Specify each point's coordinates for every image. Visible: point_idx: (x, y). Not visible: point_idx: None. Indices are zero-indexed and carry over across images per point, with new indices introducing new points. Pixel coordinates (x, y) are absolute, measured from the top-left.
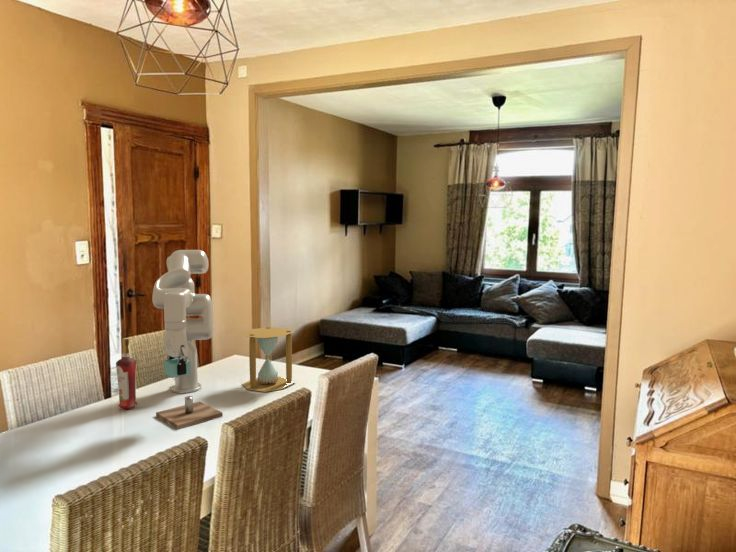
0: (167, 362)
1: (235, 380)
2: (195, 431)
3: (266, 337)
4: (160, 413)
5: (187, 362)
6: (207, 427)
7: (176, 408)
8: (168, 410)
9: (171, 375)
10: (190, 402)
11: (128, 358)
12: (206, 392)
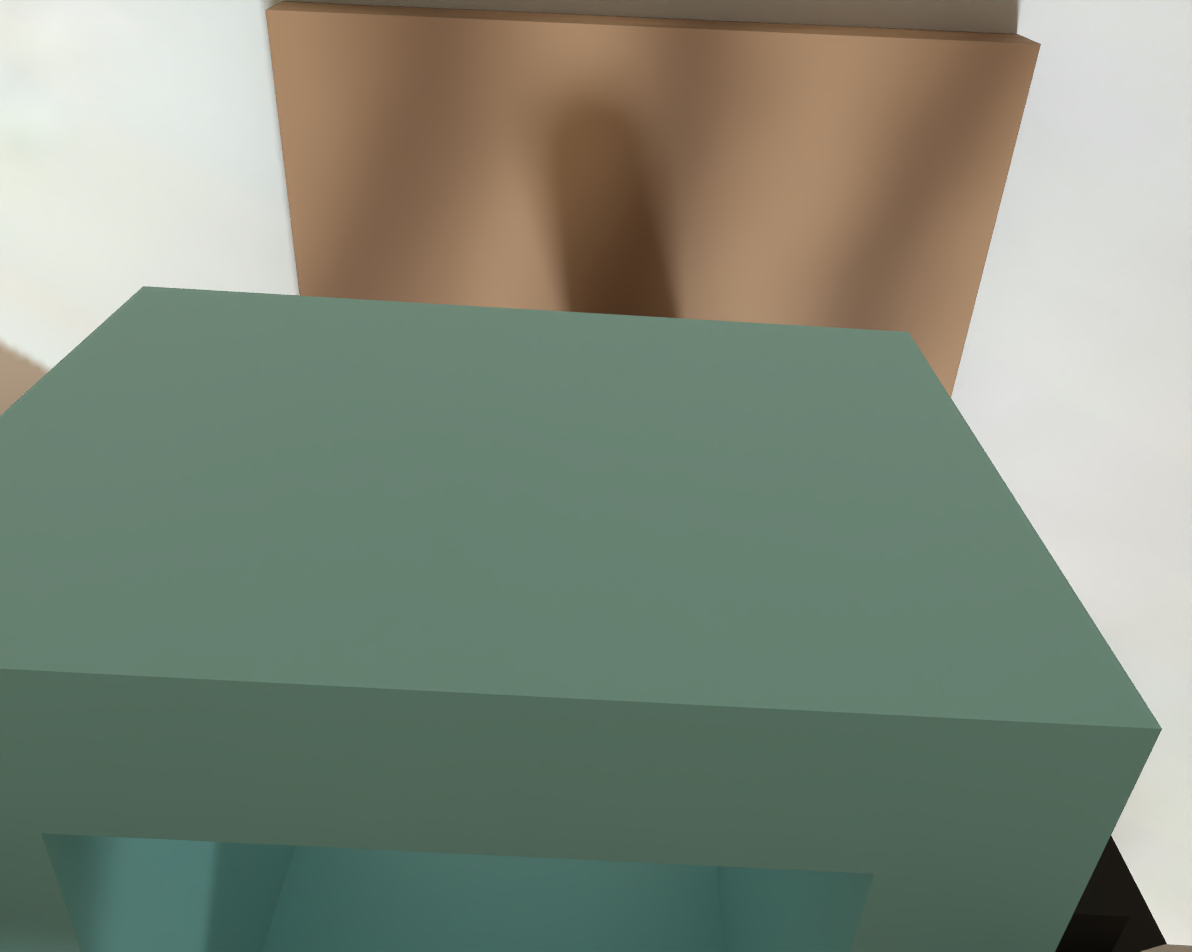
0: (506, 705)
1: None
2: (57, 139)
3: None
4: (936, 71)
5: None
6: (110, 315)
7: (915, 337)
8: (944, 223)
9: (169, 325)
10: None
11: None
12: (1144, 809)
